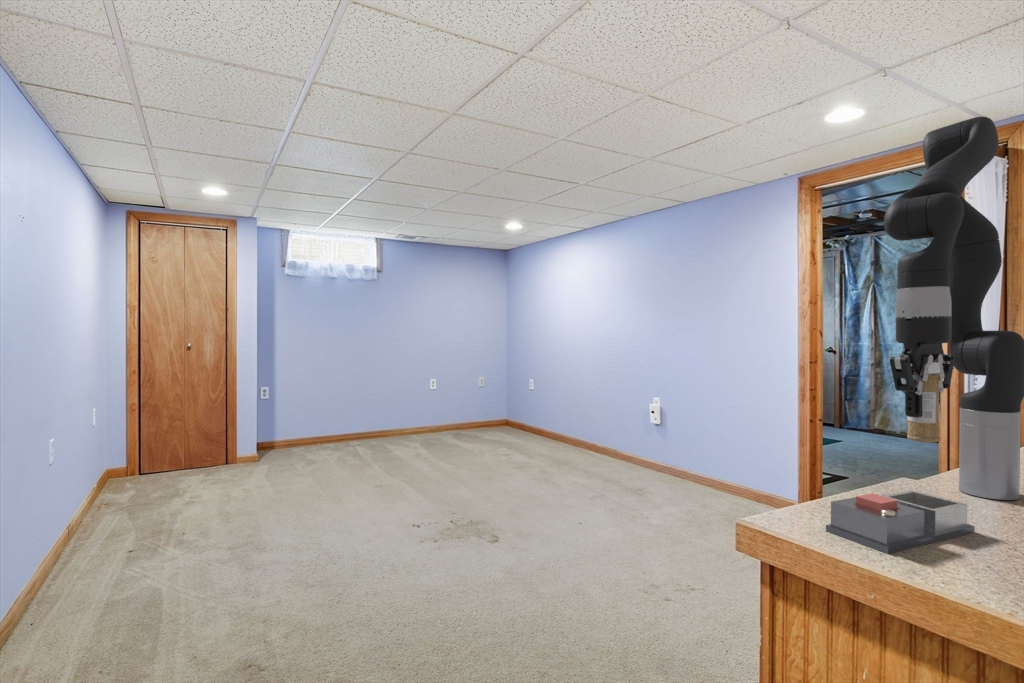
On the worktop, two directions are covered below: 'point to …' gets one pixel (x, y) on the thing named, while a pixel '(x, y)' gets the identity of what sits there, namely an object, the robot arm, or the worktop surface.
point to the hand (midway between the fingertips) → (922, 415)
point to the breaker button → (876, 502)
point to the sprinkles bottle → (927, 409)
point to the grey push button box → (900, 521)
